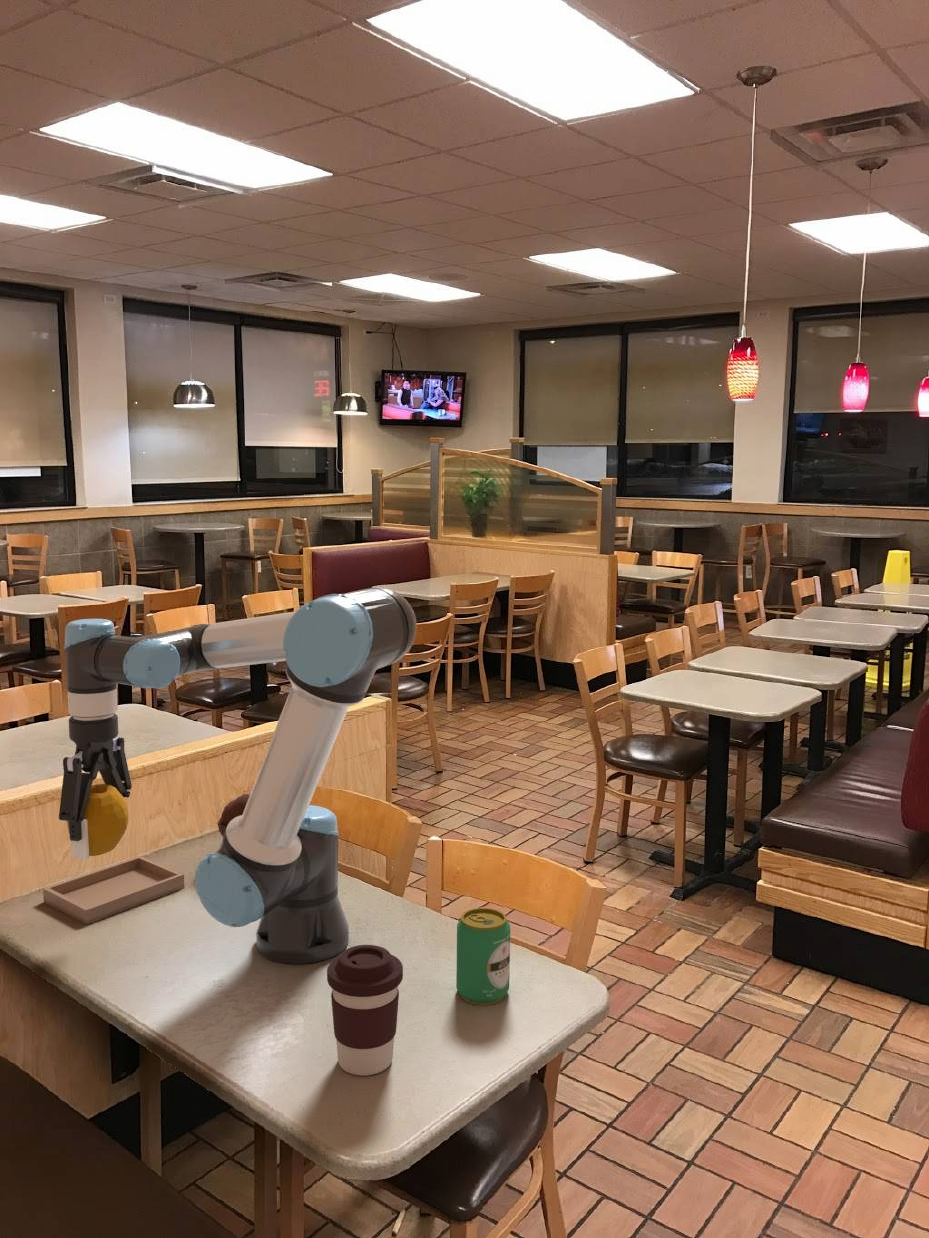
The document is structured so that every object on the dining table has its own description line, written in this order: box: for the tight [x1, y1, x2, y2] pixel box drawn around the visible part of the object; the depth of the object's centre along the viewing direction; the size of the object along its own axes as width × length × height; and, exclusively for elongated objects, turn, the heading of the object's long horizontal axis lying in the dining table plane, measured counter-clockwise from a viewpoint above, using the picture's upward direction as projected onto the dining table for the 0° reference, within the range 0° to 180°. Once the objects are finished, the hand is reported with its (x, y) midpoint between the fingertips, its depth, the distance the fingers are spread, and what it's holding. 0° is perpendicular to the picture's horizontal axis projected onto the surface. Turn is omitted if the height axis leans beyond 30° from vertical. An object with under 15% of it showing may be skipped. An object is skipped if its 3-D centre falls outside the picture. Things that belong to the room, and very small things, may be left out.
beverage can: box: [455, 907, 511, 1006], centre depth 152 cm, size 8×8×12 cm
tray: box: [42, 855, 185, 925], centre depth 186 cm, size 20×14×3 cm
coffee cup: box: [326, 944, 404, 1077], centre depth 134 cm, size 10×10×15 cm
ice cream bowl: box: [217, 793, 251, 837], centre depth 199 cm, size 11×11×15 cm
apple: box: [66, 783, 129, 857], centre depth 167 cm, size 10×10×12 cm
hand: (98, 846), depth 168 cm, fingers closed on apple, 10 cm apart
